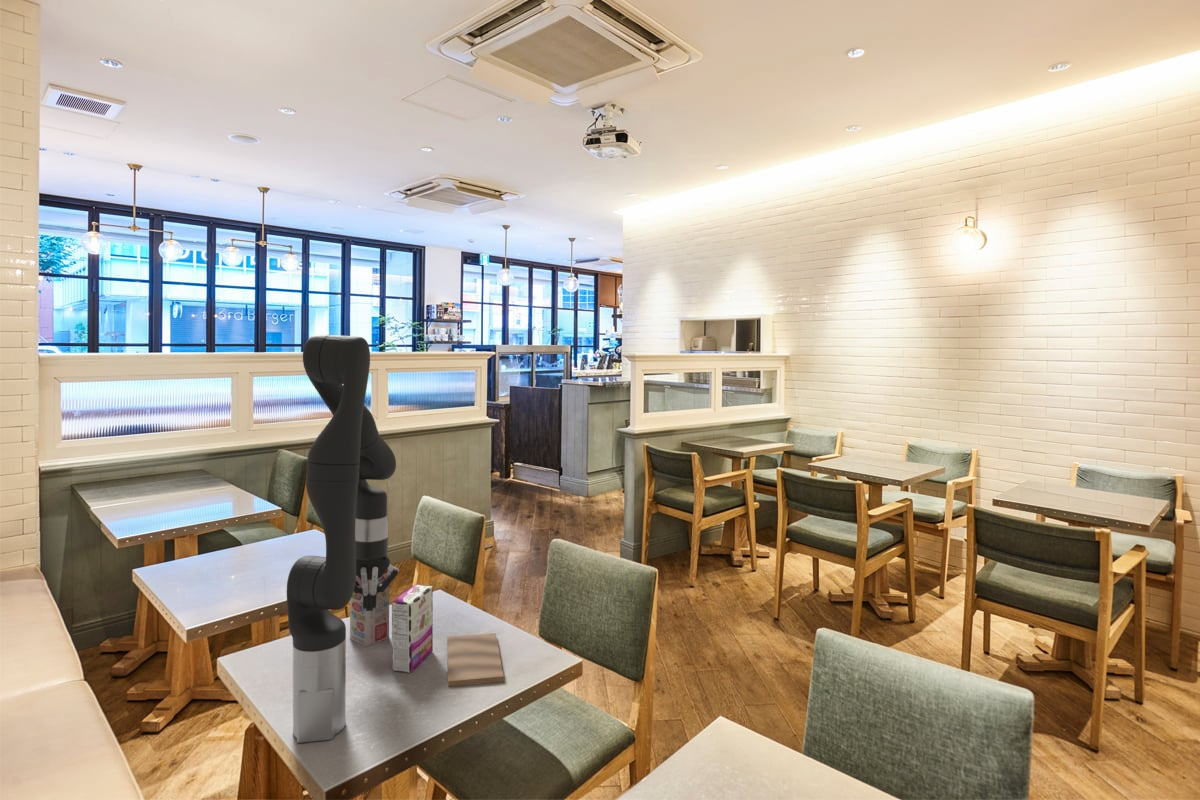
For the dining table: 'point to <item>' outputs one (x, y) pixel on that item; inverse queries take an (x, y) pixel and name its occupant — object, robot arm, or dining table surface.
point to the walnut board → (473, 660)
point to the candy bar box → (412, 628)
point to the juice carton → (369, 617)
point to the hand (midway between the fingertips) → (370, 609)
